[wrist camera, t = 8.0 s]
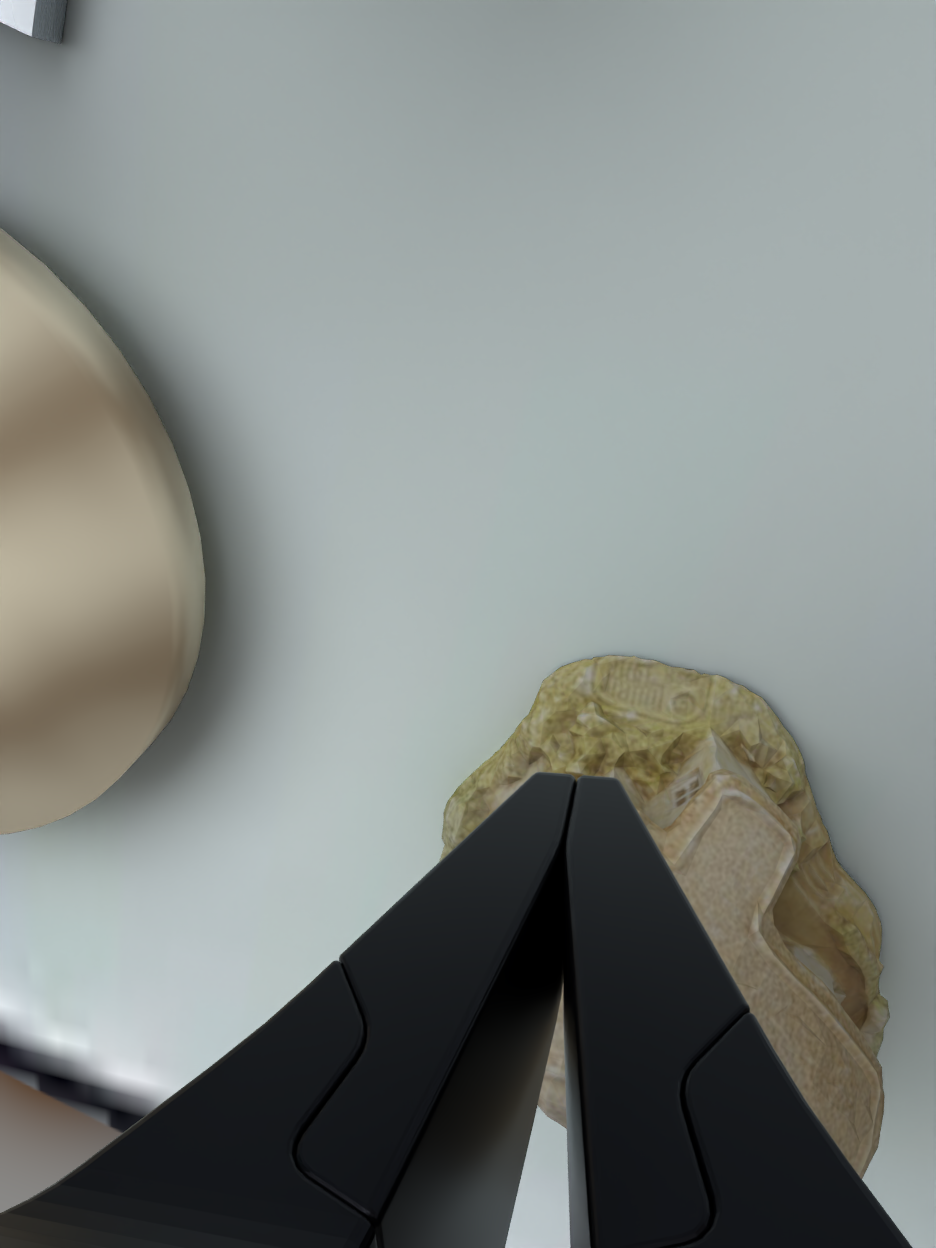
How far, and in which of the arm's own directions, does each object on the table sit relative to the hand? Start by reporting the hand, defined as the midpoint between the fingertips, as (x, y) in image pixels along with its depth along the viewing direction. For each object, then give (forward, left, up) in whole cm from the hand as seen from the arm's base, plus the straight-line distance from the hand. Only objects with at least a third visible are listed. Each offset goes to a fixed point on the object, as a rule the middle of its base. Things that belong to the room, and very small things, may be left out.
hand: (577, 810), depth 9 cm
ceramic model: (-7, +10, -13) cm, 18 cm away
